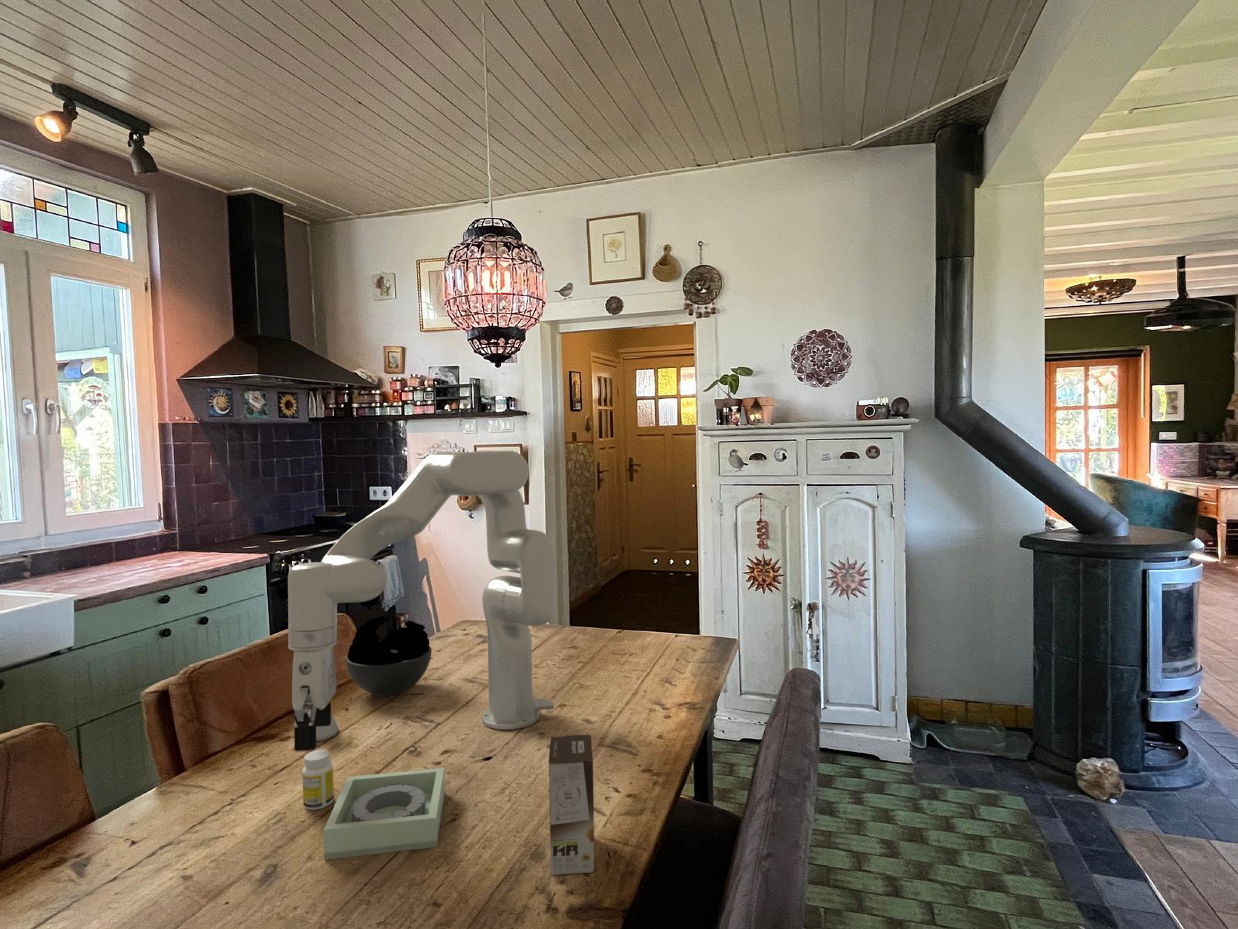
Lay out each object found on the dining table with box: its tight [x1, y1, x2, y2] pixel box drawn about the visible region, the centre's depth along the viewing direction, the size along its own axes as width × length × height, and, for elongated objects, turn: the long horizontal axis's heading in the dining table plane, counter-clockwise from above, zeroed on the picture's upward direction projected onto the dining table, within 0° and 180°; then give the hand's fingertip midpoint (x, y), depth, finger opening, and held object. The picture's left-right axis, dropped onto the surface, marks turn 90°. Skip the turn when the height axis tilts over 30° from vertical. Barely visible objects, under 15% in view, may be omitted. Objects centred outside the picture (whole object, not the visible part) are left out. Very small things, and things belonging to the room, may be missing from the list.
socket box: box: [323, 767, 446, 861], centre depth 108 cm, size 16×16×4 cm
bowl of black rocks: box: [345, 615, 432, 697], centre depth 166 cm, size 20×20×19 cm
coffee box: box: [548, 734, 595, 876], centre depth 99 cm, size 9×6×16 cm
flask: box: [307, 704, 339, 742], centre depth 142 cm, size 7×7×10 cm
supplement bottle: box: [301, 749, 335, 811], centre depth 115 cm, size 5×5×8 cm
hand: (313, 737), depth 114 cm, fingers open, 9 cm apart
